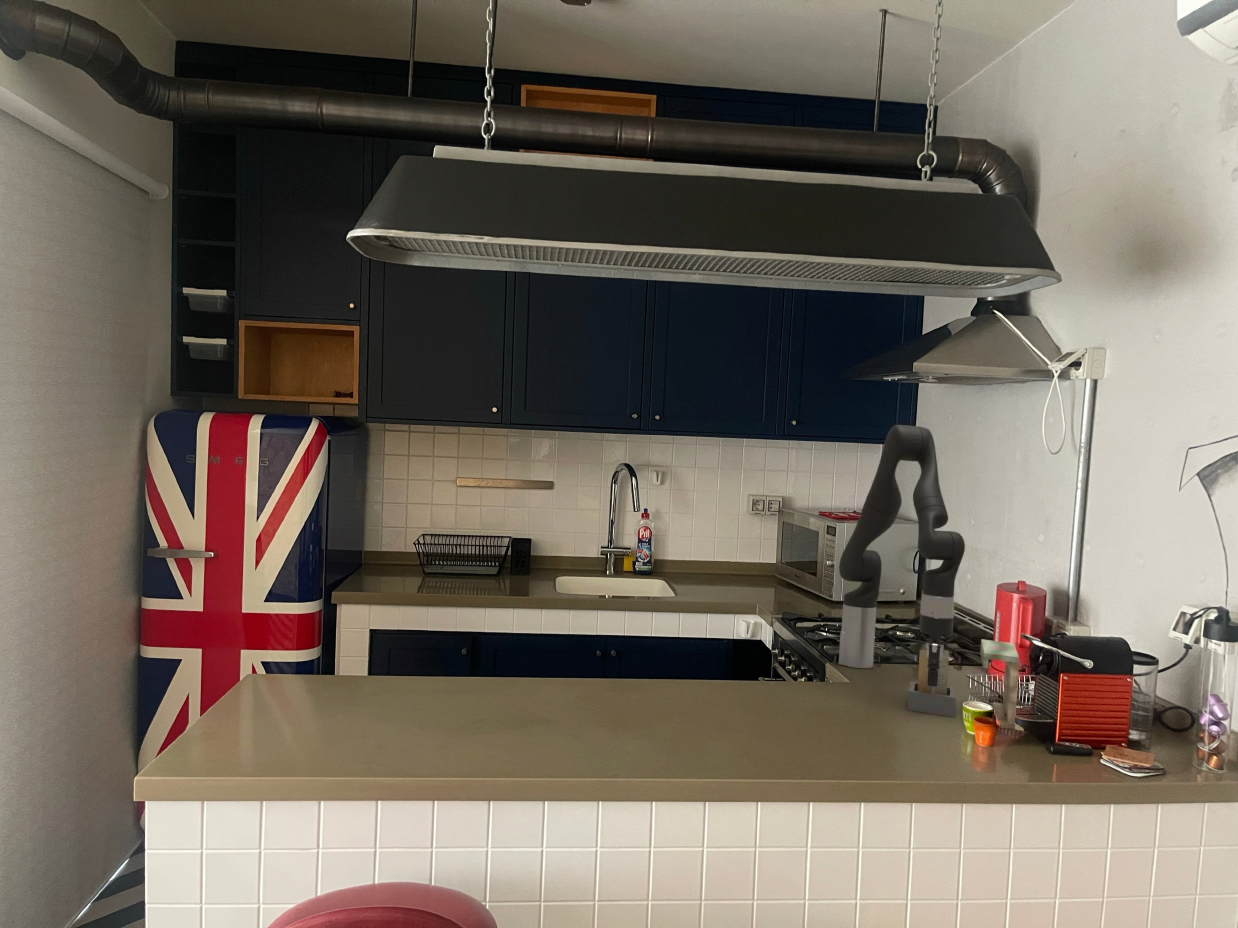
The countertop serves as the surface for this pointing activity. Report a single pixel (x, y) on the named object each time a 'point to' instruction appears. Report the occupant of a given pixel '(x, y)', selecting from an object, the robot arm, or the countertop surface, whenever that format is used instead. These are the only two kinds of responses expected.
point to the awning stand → (1011, 658)
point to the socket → (931, 701)
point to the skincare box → (942, 674)
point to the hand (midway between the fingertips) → (932, 681)
